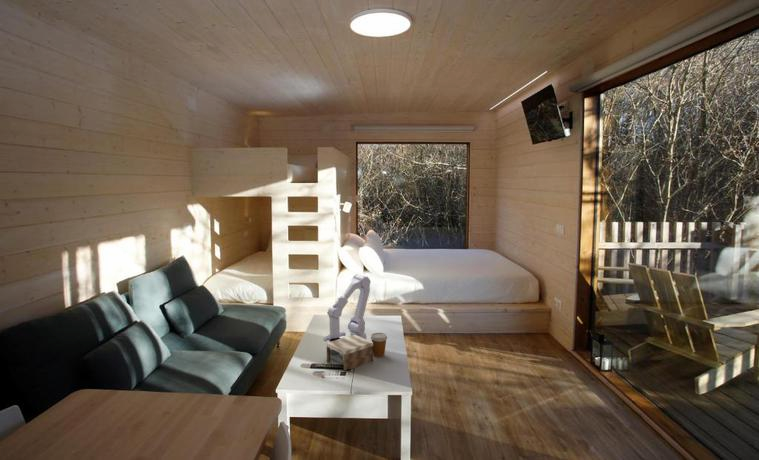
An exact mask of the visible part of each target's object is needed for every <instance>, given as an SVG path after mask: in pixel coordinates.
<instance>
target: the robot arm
mask: <svg viewBox="0 0 759 460" xmlns="http://www.w3.org/2000/svg"><path fill="white" fill-rule="evenodd" d="M370 285H371V279H370V278H369V277H368V276H366V275H365V276H364V275H361V274H357V273H355V275H353V276H352V278H350V284H349V285H348V287H347V288H346V290H345V292H344V293H343V294H342V295H340V296H339V297H337V300H336V301H335V303H334V304H333V305H332V306H331V307H329V308H328V310H327V312H326V313H327V316H328V319H329V334H328V335H327V336H324V337H323V338H322V340H323V341H324V342H326V343H327V341H328V342H331V341H335V340H338V339H341V337H347V336H346V332H345V331H340V330H341V329H340V327H341V326H340V317H341V316H342V314H343V313H342V312H343V310H344V308H345V306H347V304H348V299H349V298H350V297H351V296H352V295H353V293H354V292H355V291H356V290H359V291H360V292H359V295H358V300H357V304H356V307H355V311H354V316H352V317H351V318H350V321H349V322H348V324H347V329H348V330H349V333H350V336H351V335H357V336H359V337H362V338H364V339H367V334H366V332H365V330H366V327H365V326H366V322H365V319H364V315H365V311H366V308H367V303H368V300H369V296H370V291H371V286H370Z"/></svg>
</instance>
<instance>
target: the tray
mask: <svg viewBox="0 0 759 460" xmlns="http://www.w3.org/2000/svg"><path fill="white" fill-rule="evenodd" d="M330 360H331V361H334V362H336V363H338V364H340V365H342V364H344V354H342V353H339V352H337V351H335V350H333V349H331V348H330Z"/></svg>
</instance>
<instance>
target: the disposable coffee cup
mask: <svg viewBox="0 0 759 460" xmlns="http://www.w3.org/2000/svg"><path fill="white" fill-rule="evenodd" d="M387 340H388V336H387V334H386V333H383V332H374V333H372V334H371V336H370V341H371V342H373V357H375V358H384V356H385V352H386V345H387Z"/></svg>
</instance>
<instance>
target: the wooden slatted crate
mask: <svg viewBox="0 0 759 460" xmlns="http://www.w3.org/2000/svg"><path fill="white" fill-rule="evenodd" d="M340 338H341V337H340ZM330 349H333V350H335V351H337V352H339V353H342V354H344V365H343V371H344V370H347V369H350V370H352V368H353V369H355V368H358V367H361V366H363V365H366V364H369V363H372V362H374V355H373V342H372V340H369V339H367V338H366V339H364V338H362V337H359V336H357V335H351V334H350V335H349V336H344V337H343V338H341V339H338V340H335V341H331V342H330V341H328V342H326V362H327V363H331V361H332V359H330ZM347 371H348V370H347Z"/></svg>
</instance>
